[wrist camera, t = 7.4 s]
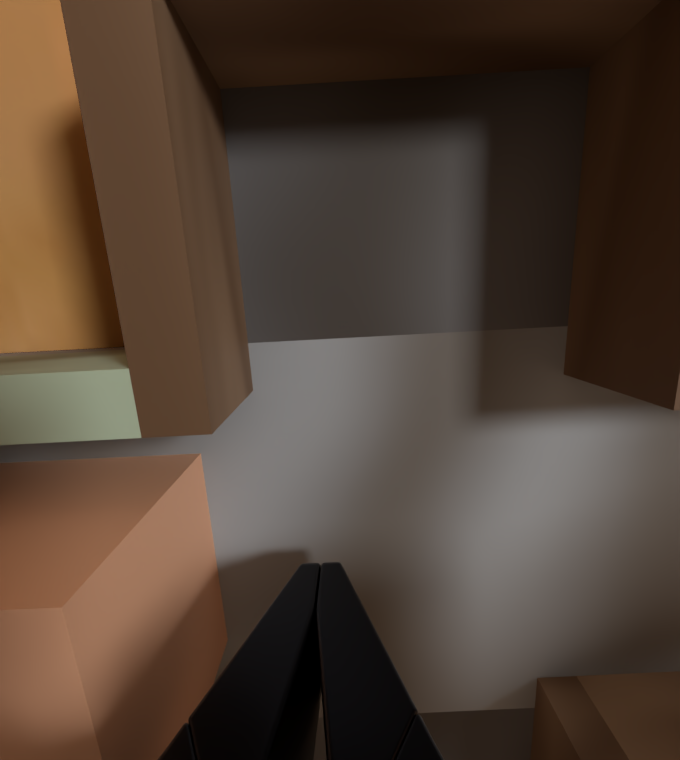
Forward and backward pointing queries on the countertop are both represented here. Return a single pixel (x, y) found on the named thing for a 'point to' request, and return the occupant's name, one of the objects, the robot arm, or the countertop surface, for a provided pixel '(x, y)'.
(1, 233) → the countertop surface
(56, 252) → the countertop surface
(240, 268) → the trap lane
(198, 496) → the block
